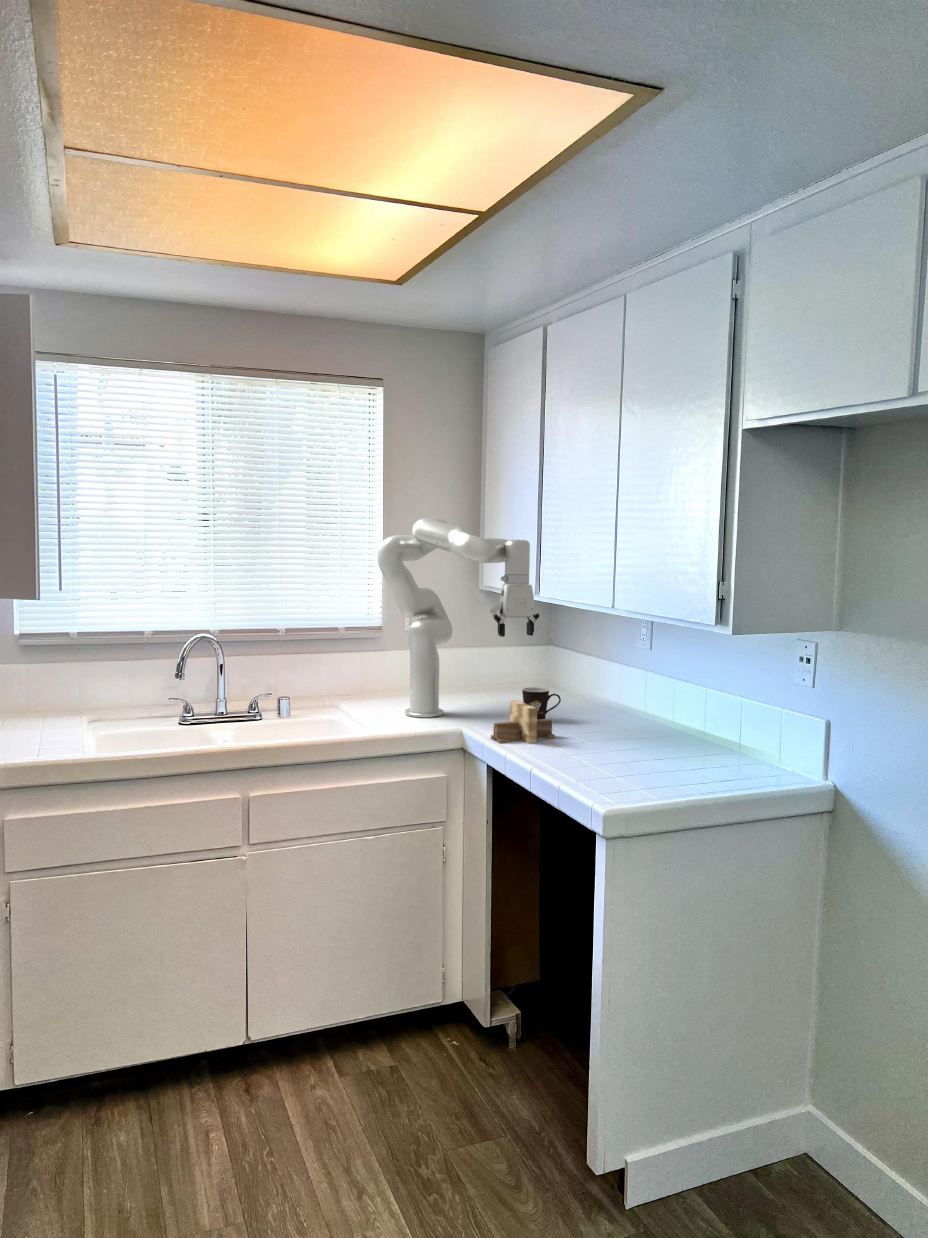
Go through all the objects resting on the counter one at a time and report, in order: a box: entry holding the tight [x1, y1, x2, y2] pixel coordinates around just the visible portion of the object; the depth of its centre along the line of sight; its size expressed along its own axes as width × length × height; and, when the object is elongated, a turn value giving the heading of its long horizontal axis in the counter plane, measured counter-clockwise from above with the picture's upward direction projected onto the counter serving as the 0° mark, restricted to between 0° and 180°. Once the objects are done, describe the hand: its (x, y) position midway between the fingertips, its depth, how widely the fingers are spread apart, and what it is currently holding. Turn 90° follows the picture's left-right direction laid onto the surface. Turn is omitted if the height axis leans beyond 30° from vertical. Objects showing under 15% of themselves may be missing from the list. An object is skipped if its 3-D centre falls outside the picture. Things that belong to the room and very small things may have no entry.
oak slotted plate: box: [509, 700, 538, 744], centre depth 265 cm, size 12×3×10 cm, turn 24°
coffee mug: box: [521, 686, 562, 720], centre depth 289 cm, size 12×9×10 cm
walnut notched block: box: [490, 718, 556, 744], centre depth 265 cm, size 6×18×5 cm, turn 113°
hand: (515, 635), depth 279 cm, fingers open, 9 cm apart
